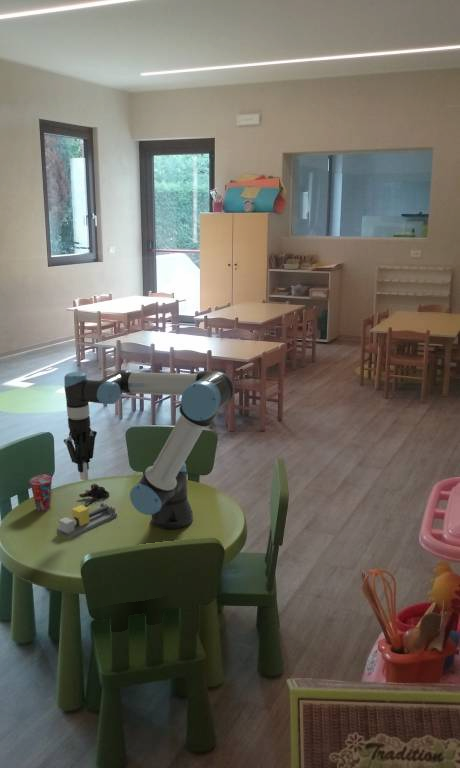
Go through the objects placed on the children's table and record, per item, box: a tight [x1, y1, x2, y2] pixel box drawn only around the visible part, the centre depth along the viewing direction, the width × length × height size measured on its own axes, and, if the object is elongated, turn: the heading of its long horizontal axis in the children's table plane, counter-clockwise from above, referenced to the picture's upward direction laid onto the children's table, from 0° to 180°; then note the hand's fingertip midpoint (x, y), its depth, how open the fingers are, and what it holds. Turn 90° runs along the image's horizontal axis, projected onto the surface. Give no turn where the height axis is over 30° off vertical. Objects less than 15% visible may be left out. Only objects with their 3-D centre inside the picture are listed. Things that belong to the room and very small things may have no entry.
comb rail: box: [56, 502, 118, 539], centre depth 251 cm, size 21×8×5 cm, turn 139°
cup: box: [28, 473, 53, 512], centre depth 263 cm, size 9×8×12 cm
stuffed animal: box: [78, 483, 110, 507], centre depth 273 cm, size 12×10×12 cm
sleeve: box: [71, 504, 90, 526], centre depth 248 cm, size 4×4×6 cm
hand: (84, 479), depth 247 cm, fingers closed
